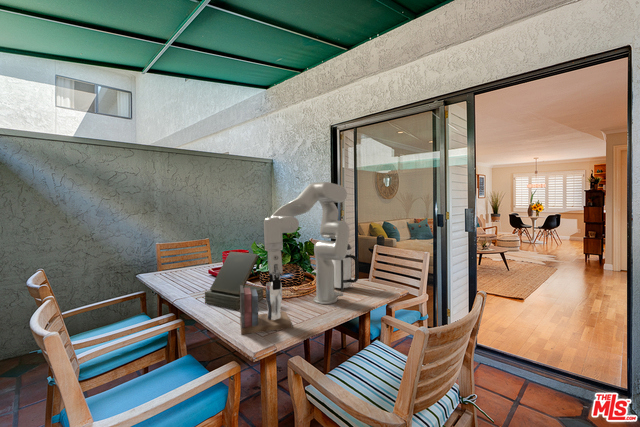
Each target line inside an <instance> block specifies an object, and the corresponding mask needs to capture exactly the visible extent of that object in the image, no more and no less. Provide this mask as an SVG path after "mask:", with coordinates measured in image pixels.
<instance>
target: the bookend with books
mask: <svg viewBox="0 0 640 427" xmlns="http://www.w3.org/2000/svg"><path fill="white" fill-rule="evenodd" d="M239 310H240V314H239V315H240V316H239V323H240V335H246V334H247V335H249V334H255V333H256V334H257V333H262V332H269V331H270V332H272V331H279V330H285V329H286V330H287V329H292V328H293V327H292V324H293V323H292V322H291V320H290V318H289V316H288V313H287V312H286V311H280V313H281V319H280V320H277V321H269V320H267V314H268V313H261V314H259V301H258V294H257V291H256V289H252V290H250V287H249V288H243V285H240V309H239Z"/></svg>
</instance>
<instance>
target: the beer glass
mask: <svg viewBox="0 0 640 427" xmlns="http://www.w3.org/2000/svg"><path fill="white" fill-rule="evenodd" d="M280 283H281V289H279V290H273V282H270V281H268V282H266V284H265V299H266V300H265V302H266V307H267V313H266V314H267V320H269V321H277V320H280V319H281V313H280V312H281V306H282V300H283V287H282V286H283V284H282V282H281V281H280Z"/></svg>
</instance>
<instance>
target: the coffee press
mask: <svg viewBox="0 0 640 427" xmlns="http://www.w3.org/2000/svg"><path fill="white" fill-rule="evenodd" d="M352 259H353V260H354V269H355V270H354V272H355V273H354V279H352ZM332 262H333V264H334V289H340V292H343V293H344V289H347V288H351V289H354V286H353V284H354V283H356V282H358V281H359V273H360V272H359V268H360V267H359V260H358V257H357V256H355V255H353V254H352V246H351V244H349V243H348V247H347V253H346V256H345V258H344V259H343V260H332Z"/></svg>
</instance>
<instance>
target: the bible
mask: <svg viewBox="0 0 640 427" xmlns="http://www.w3.org/2000/svg"><path fill="white" fill-rule="evenodd" d="M259 257H260V256H259V255H258V254H257V253H248V252H242V251H241V252H238V251H229V253H228V255H227V257H226V258H225V260H224V262H223V264H222V265H221V268H220V269H219V271H218V273H217V275H216V277H215V279H214V280H213V282H212V284H211V286H210V288H209V290H205V291H204V304H206V303H207V305H211V306H216V307H220V308H225V309H230V310H235V311H239V310H240V285H243V288H249V287H250V290H252V289H256V291H257V294H258V302H260V301H261V300H264V297H265V295H264V293H265V291H264V287H261V286H260V287H259V286H255V285H254V286H253V285H247V282H248V280H249V278H250V277H251V276H250V275H251V273H252V272H253V269H254V267H255V265H256V264H257V261H258V260H259Z"/></svg>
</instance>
